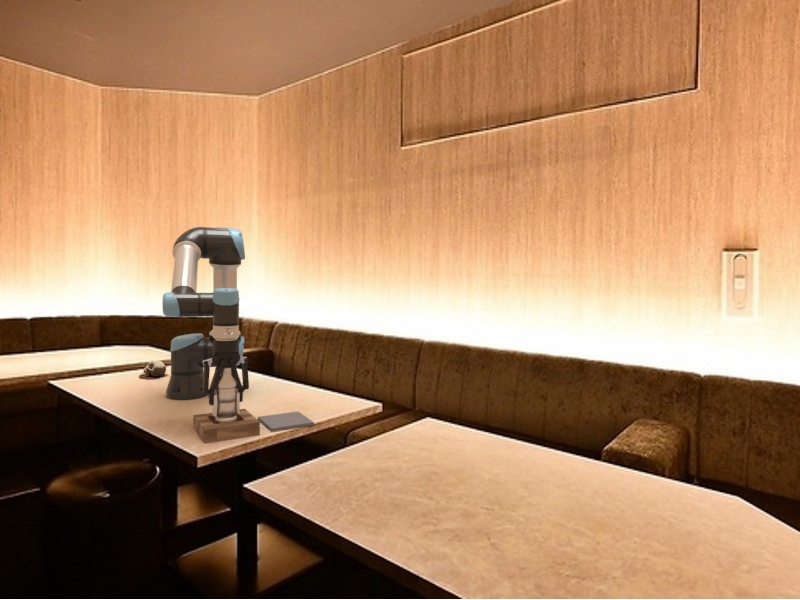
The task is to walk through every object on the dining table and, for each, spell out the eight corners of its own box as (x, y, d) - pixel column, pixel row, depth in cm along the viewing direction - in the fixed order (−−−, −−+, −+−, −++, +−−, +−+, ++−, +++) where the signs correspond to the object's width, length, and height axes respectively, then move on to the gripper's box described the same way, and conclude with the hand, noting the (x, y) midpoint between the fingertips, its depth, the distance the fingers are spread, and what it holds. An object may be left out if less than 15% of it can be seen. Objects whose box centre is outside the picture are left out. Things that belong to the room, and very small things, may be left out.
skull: (131, 376, 230) (141, 356, 236) (144, 388, 238) (154, 368, 244) (154, 377, 227) (164, 357, 233) (167, 389, 235) (176, 369, 241)
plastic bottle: (230, 435, 159) (231, 369, 158) (210, 433, 161) (210, 367, 159) (241, 428, 166) (242, 365, 164) (221, 426, 167) (222, 364, 166)
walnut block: (193, 427, 166) (193, 415, 165) (244, 420, 174) (244, 408, 174) (204, 443, 152) (204, 429, 152) (259, 434, 161) (259, 421, 160)
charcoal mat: (257, 419, 175) (257, 416, 175) (298, 414, 183) (298, 411, 183) (271, 431, 164) (271, 428, 163) (313, 425, 171) (314, 422, 171)
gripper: (195, 342, 153) (195, 421, 154) (260, 338, 163) (260, 412, 165) (190, 339, 159) (190, 414, 161) (253, 335, 169) (253, 407, 171)
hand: (225, 413), depth 163 cm, fingers closed on plastic bottle, 6 cm apart
